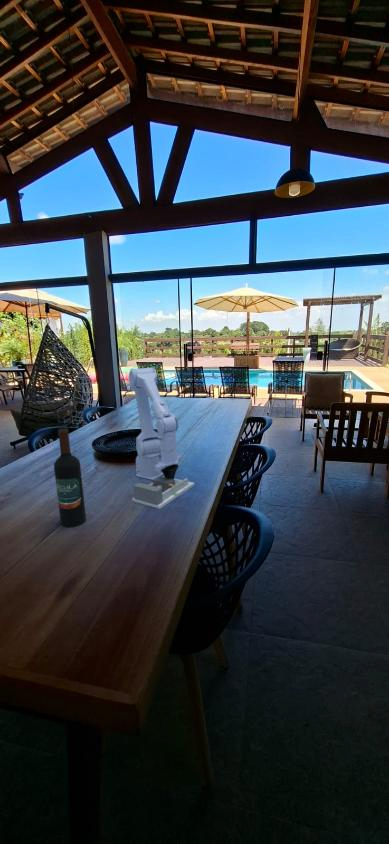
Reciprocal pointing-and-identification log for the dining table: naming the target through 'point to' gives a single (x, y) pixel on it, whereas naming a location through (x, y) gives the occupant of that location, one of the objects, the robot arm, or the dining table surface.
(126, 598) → the dining table surface
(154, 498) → the gauge frame
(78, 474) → the wine bottle
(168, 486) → the block with orange peg
